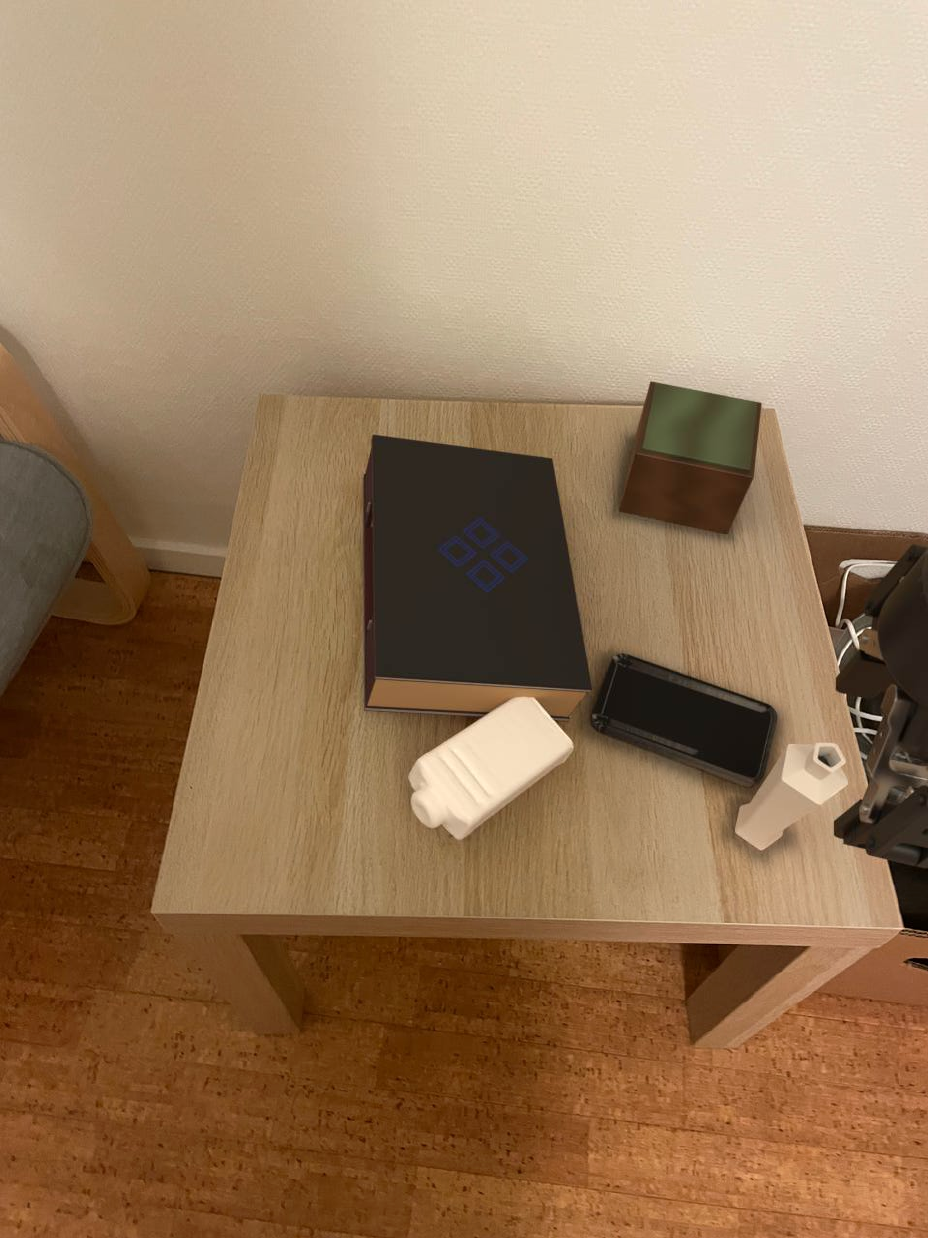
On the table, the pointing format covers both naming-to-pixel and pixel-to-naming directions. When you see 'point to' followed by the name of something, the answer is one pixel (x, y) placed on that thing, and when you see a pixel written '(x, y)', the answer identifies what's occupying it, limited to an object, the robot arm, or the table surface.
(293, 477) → the table surface
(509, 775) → the white bottle
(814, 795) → the cream faceted bottle shape
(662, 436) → the stand
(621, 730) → the phone
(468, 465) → the book
